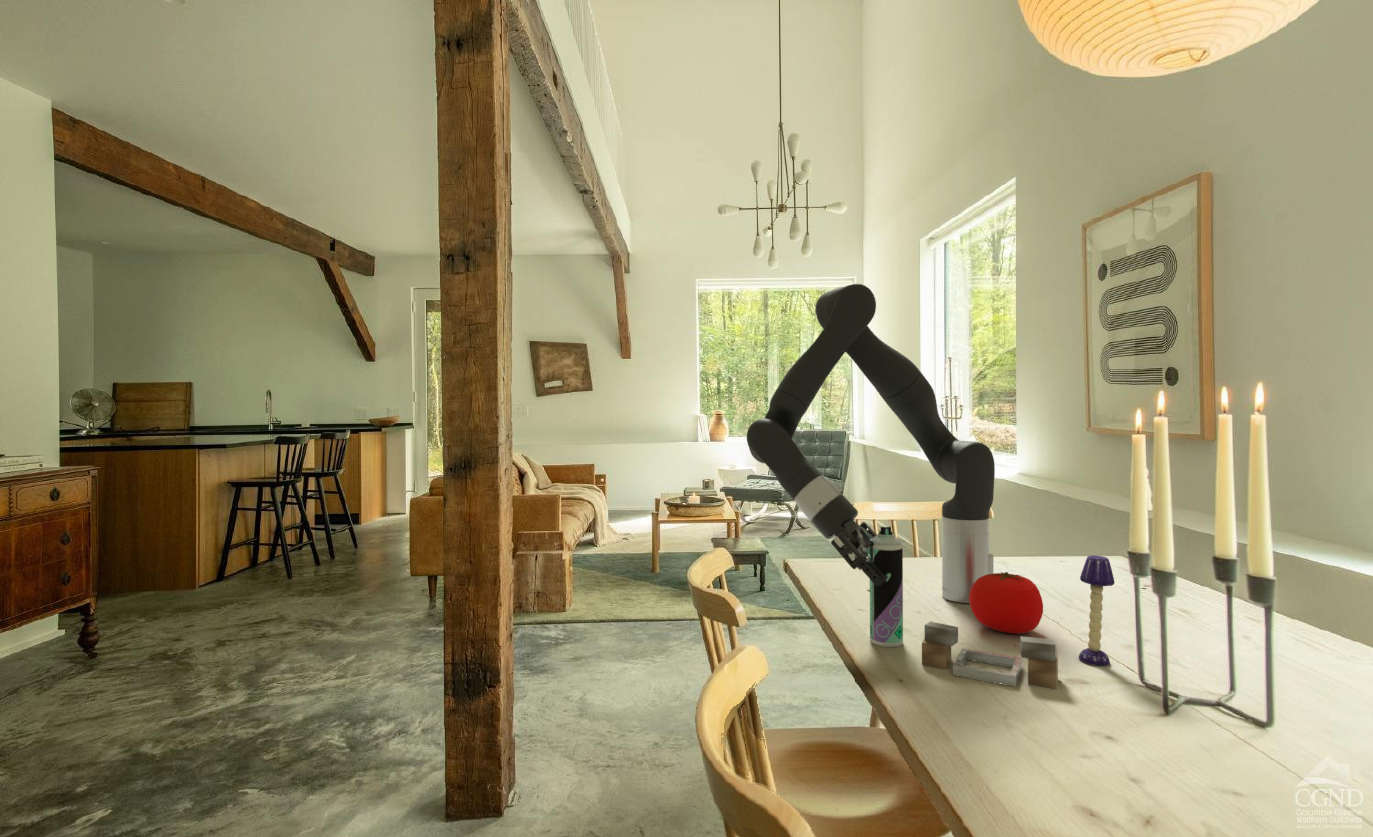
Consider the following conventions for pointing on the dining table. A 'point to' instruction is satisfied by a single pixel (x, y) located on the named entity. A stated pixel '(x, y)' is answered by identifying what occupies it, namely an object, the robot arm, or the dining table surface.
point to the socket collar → (988, 674)
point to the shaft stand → (1034, 649)
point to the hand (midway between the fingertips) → (889, 577)
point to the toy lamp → (1096, 606)
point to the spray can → (887, 590)
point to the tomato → (1006, 602)
